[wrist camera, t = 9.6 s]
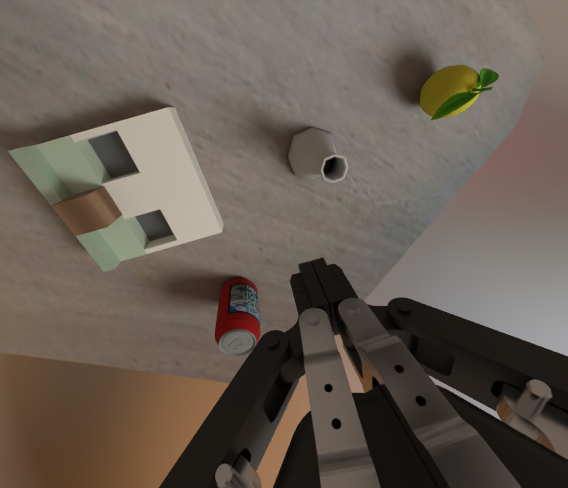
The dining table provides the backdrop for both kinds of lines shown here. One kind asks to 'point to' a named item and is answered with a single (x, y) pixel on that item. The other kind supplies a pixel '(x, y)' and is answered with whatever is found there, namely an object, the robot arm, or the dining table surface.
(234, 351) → the beverage can
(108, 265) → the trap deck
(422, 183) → the dining table surface
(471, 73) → the lemon
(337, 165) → the flask
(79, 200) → the walnut block
